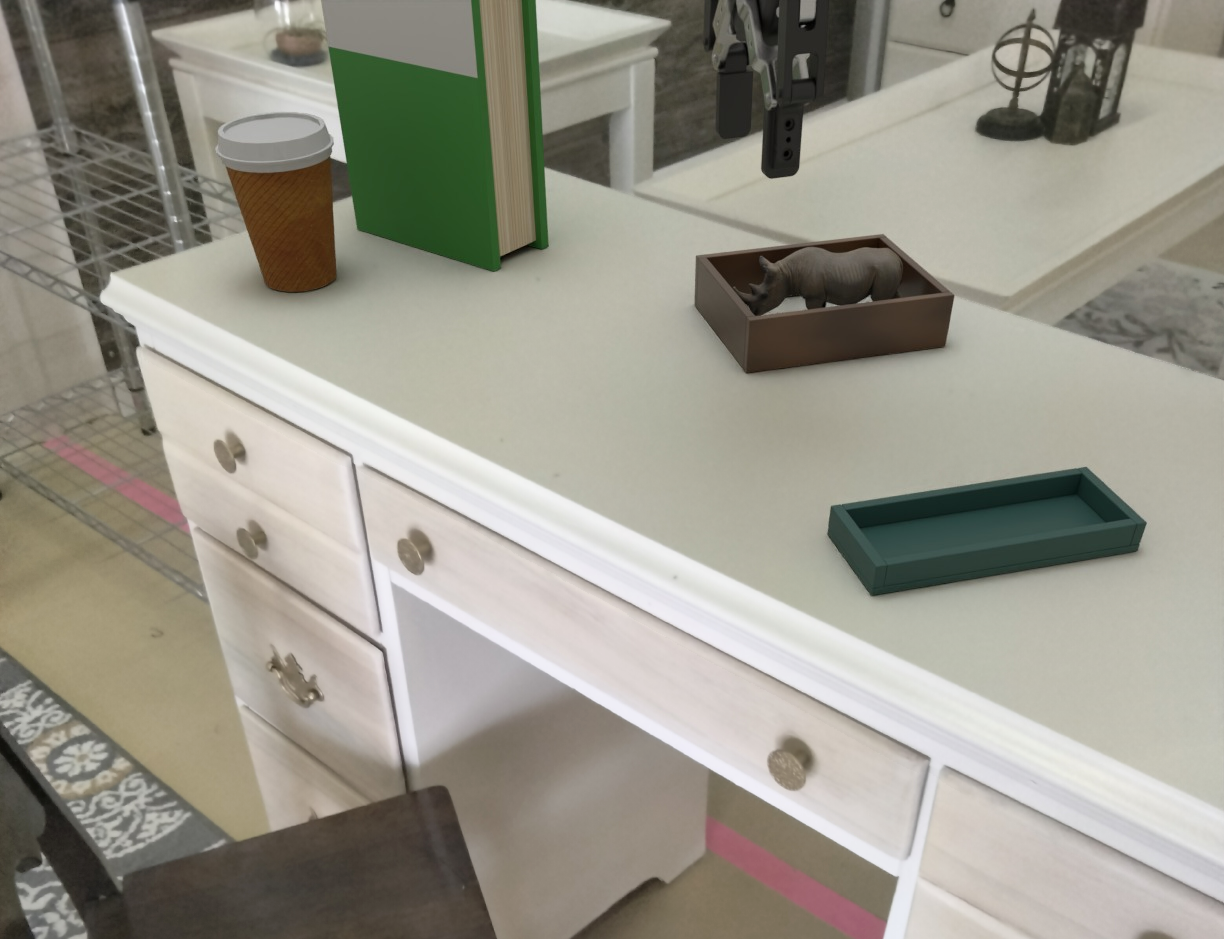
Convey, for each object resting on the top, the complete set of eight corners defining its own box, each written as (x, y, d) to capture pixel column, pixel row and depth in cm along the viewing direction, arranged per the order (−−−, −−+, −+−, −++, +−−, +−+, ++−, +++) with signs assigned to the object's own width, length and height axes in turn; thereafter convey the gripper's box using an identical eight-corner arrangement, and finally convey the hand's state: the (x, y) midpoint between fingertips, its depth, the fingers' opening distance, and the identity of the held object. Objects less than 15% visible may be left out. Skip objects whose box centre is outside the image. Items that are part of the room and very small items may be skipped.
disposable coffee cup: (279, 309, 101) (246, 152, 93) (226, 277, 107) (191, 126, 98) (376, 279, 106) (353, 127, 97) (320, 250, 111) (294, 103, 102)
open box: (877, 282, 103) (883, 233, 101) (945, 346, 94) (955, 294, 91) (694, 304, 101) (695, 255, 98) (746, 373, 91) (749, 320, 89)
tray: (1078, 494, 78) (1086, 466, 77) (1138, 551, 73) (1147, 522, 72) (827, 533, 75) (830, 505, 74) (871, 596, 70) (876, 566, 69)
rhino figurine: (729, 315, 99) (733, 238, 95) (897, 314, 99) (909, 237, 94) (731, 336, 96) (735, 258, 92) (904, 335, 96) (917, 256, 91)
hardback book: (548, 246, 111) (531, -76, 94) (493, 271, 106) (465, -61, 90) (412, 207, 118) (374, -96, 102) (357, 229, 114) (307, -83, 98)
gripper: (891, -166, 60) (855, 183, 72) (788, -193, 70) (771, 117, 82) (750, -155, 59) (736, 199, 71) (665, -184, 69) (665, 130, 80)
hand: (755, 155), depth 76 cm, fingers open, 8 cm apart
